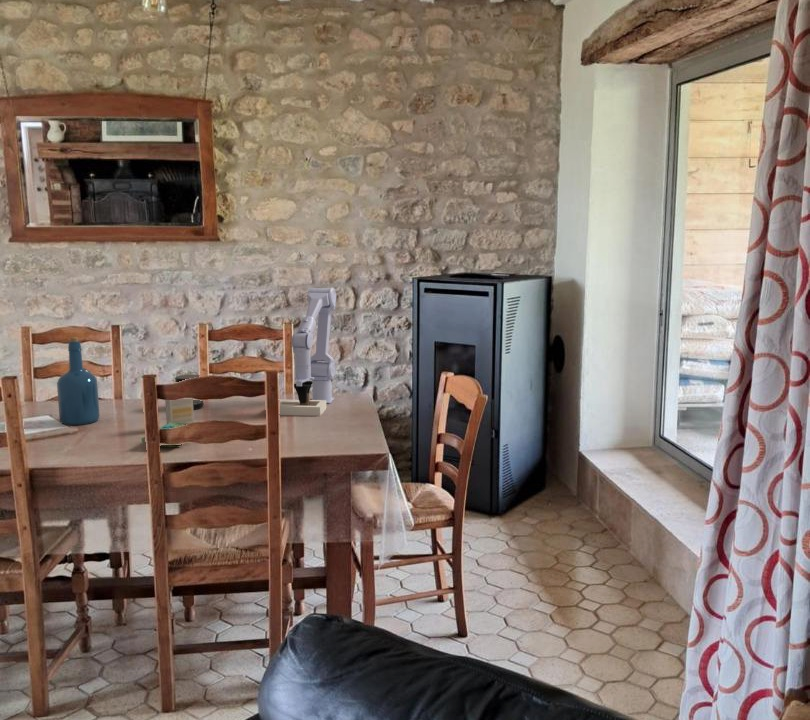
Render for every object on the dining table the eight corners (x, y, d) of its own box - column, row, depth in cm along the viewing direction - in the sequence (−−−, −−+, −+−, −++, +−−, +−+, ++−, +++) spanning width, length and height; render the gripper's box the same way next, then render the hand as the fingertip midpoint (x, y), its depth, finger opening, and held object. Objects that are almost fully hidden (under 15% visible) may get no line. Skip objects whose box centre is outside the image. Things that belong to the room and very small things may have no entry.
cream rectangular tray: (274, 407, 307) (273, 399, 307) (326, 408, 306) (326, 400, 305) (265, 415, 296) (265, 406, 295) (320, 415, 294) (320, 407, 293)
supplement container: (178, 405, 313) (177, 374, 311) (206, 404, 314) (204, 373, 312) (172, 411, 303) (170, 379, 301) (201, 410, 303) (199, 379, 302)
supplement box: (189, 425, 281) (187, 387, 279) (194, 427, 278) (192, 390, 275) (166, 428, 277) (164, 390, 275) (170, 431, 273) (168, 393, 271)
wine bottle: (92, 426, 281) (85, 339, 276) (53, 426, 281) (46, 340, 276) (106, 416, 294) (100, 334, 290) (69, 417, 294) (63, 334, 289)
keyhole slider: (299, 408, 303) (298, 392, 302) (313, 408, 303) (313, 392, 302) (295, 411, 298) (295, 395, 297) (310, 411, 297) (310, 395, 296)
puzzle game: (203, 421, 268) (177, 436, 249) (204, 435, 269) (178, 451, 249) (170, 420, 270) (141, 435, 251) (171, 434, 271) (142, 450, 251)
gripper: (309, 369, 290) (310, 406, 292) (317, 362, 304) (318, 397, 306) (290, 368, 291) (291, 406, 293) (298, 362, 305) (299, 397, 307)
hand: (303, 402), depth 300 cm, fingers closed on keyhole slider, 3 cm apart
